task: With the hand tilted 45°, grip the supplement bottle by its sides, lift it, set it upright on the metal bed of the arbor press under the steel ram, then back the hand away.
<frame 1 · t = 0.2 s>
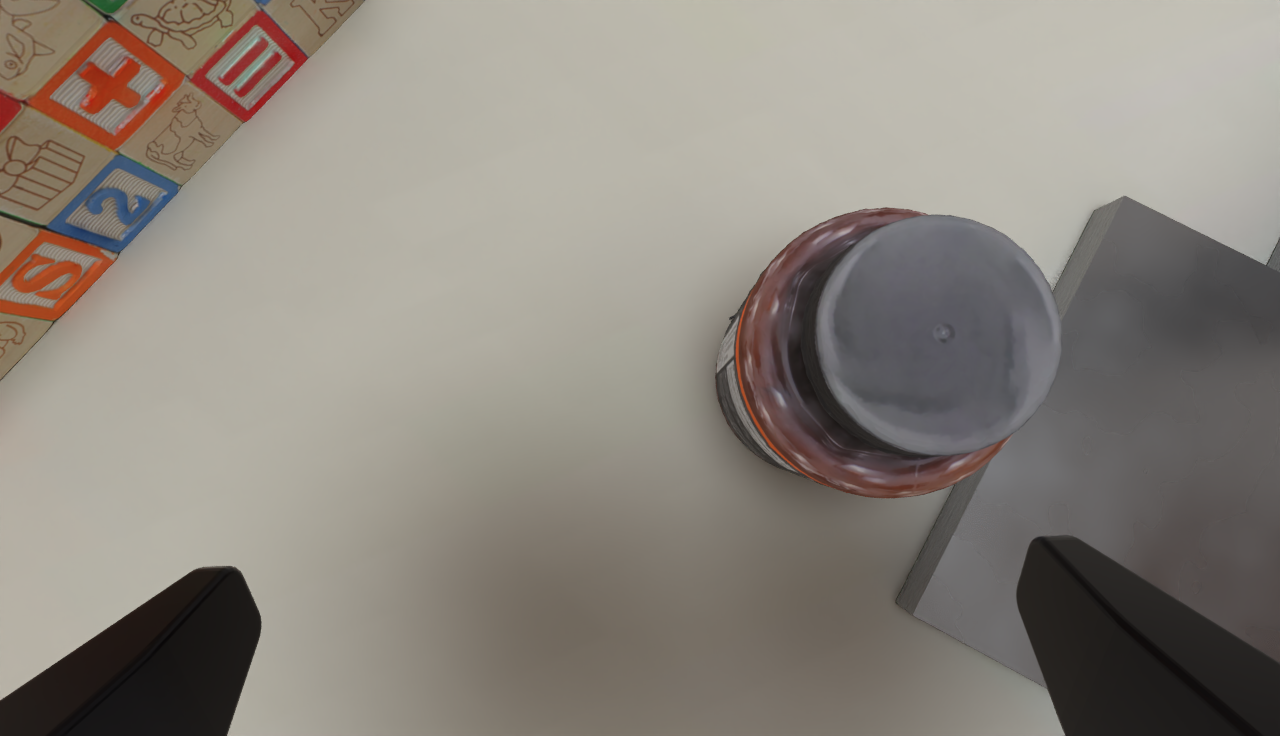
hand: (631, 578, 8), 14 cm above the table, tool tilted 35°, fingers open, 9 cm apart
arbor press: (1203, 510, 22), on the table
supplement bottle: (803, 378, 23), on the table
stack of blocks: (98, 166, 24), on the table
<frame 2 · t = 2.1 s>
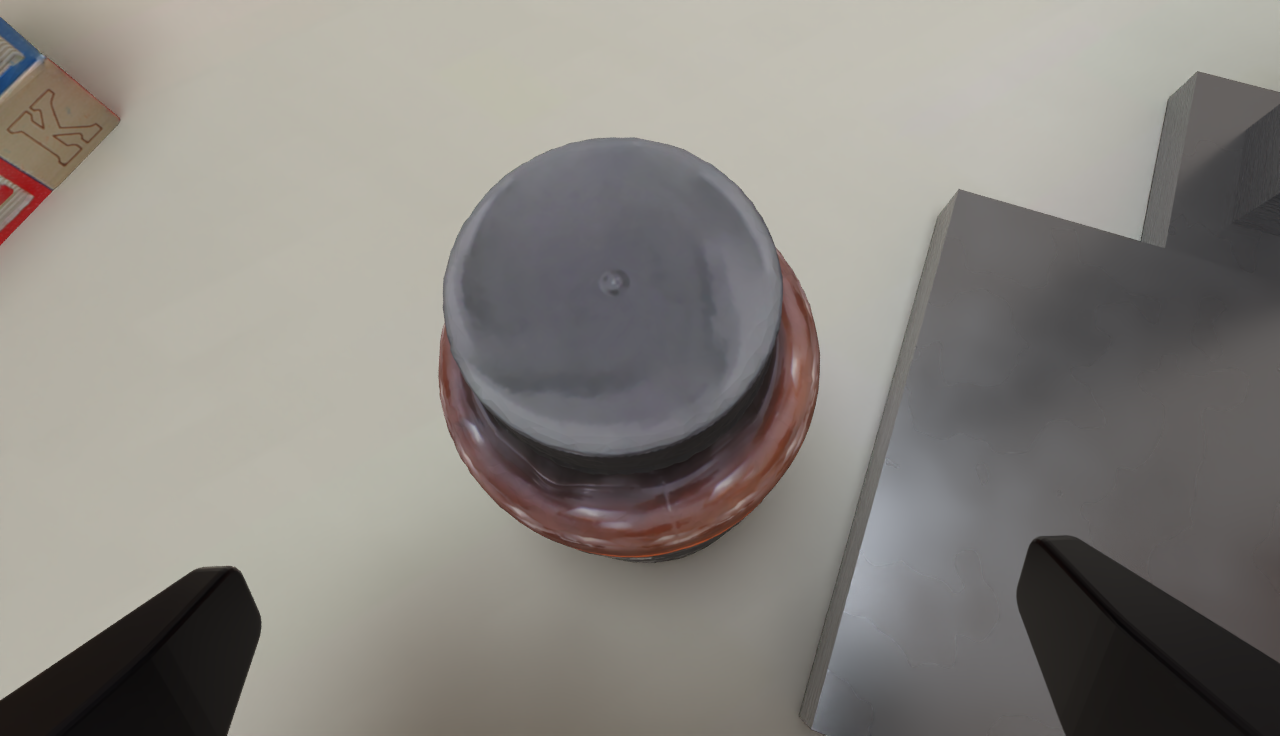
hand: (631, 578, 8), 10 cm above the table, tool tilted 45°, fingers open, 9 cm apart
arbor press: (1149, 535, 18), on the table
supplement bottle: (646, 449, 19), on the table
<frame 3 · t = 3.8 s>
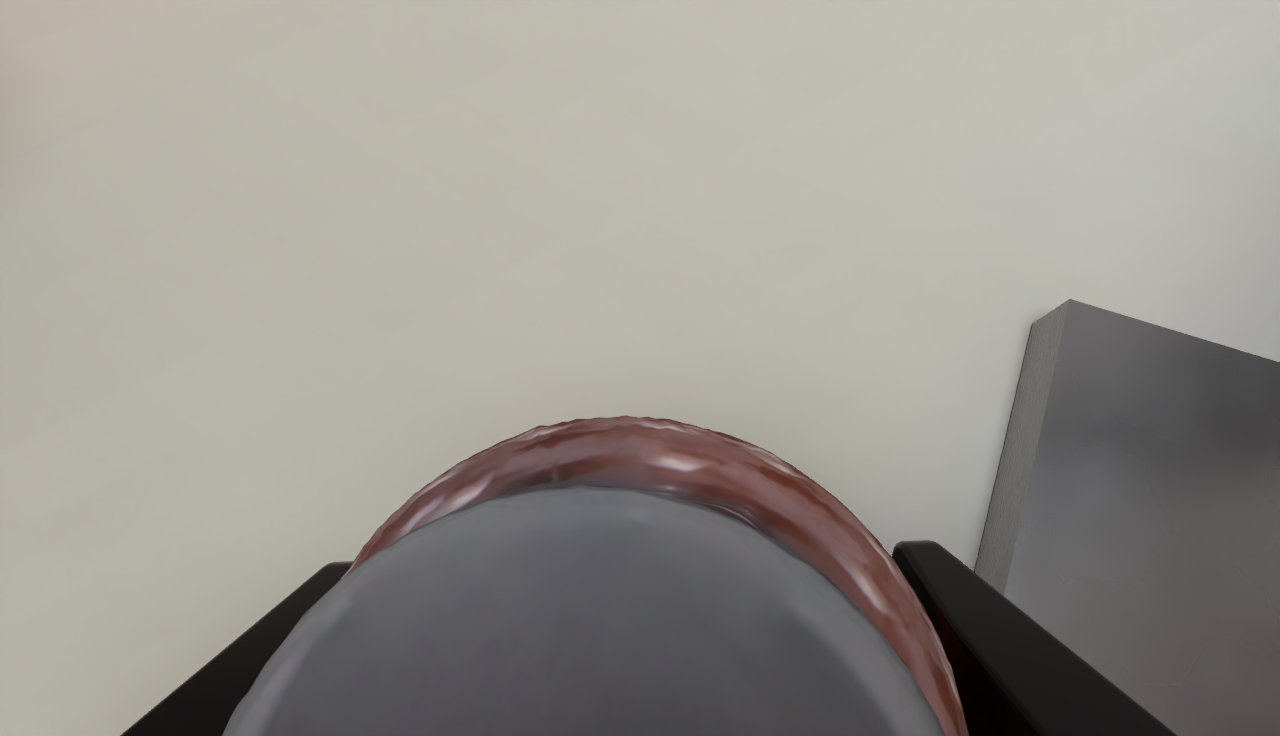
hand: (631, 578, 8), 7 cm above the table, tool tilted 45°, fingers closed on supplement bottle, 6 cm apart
supplement bottle: (650, 645, 14), on the table, touching gripper
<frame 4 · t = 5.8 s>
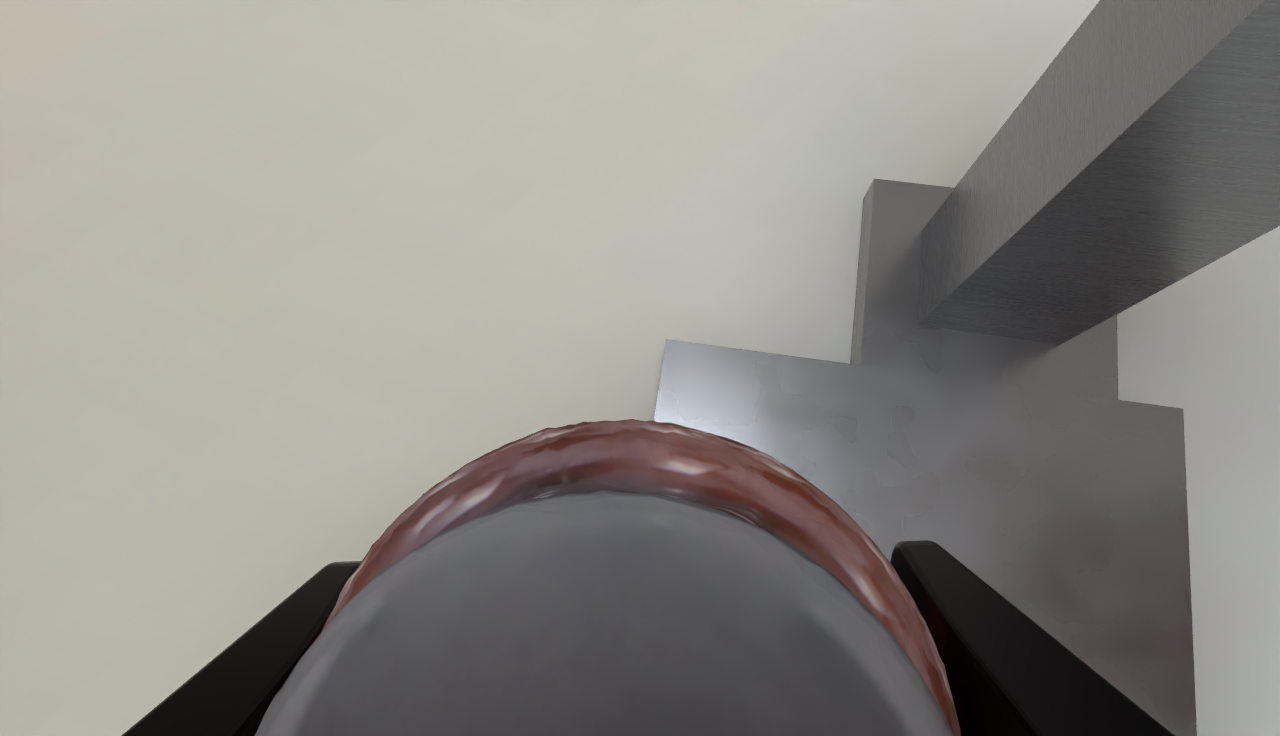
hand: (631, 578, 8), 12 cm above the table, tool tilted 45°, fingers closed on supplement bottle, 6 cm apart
arbor press: (885, 634, 19), on the table
supplement bottle: (639, 642, 14), point 5 cm above the table, touching gripper
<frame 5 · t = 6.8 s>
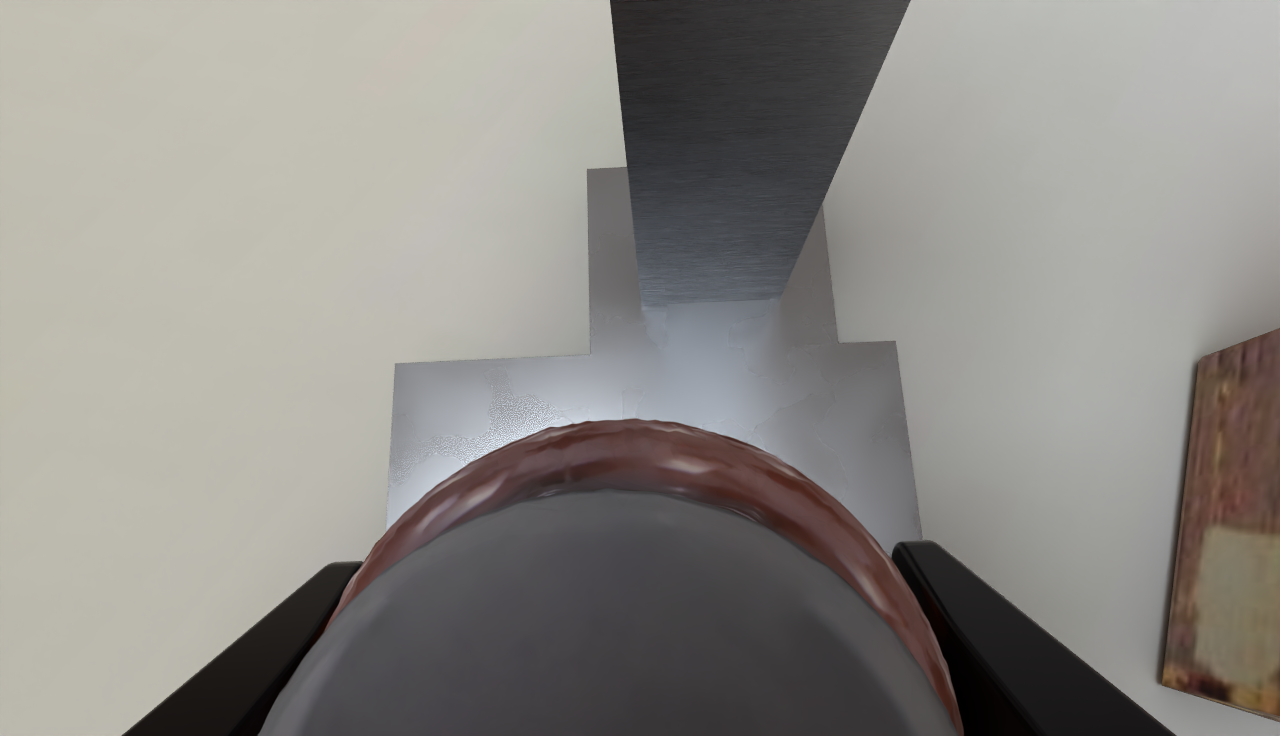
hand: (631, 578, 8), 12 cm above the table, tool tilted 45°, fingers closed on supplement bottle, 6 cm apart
arbor press: (654, 612, 19), on the table
supplement bottle: (641, 641, 15), point 5 cm above the table, touching gripper
when the fingers open (9 cm above the table, at t = 7.9 s): supplement bottle stays where it is, resting on arbor press.
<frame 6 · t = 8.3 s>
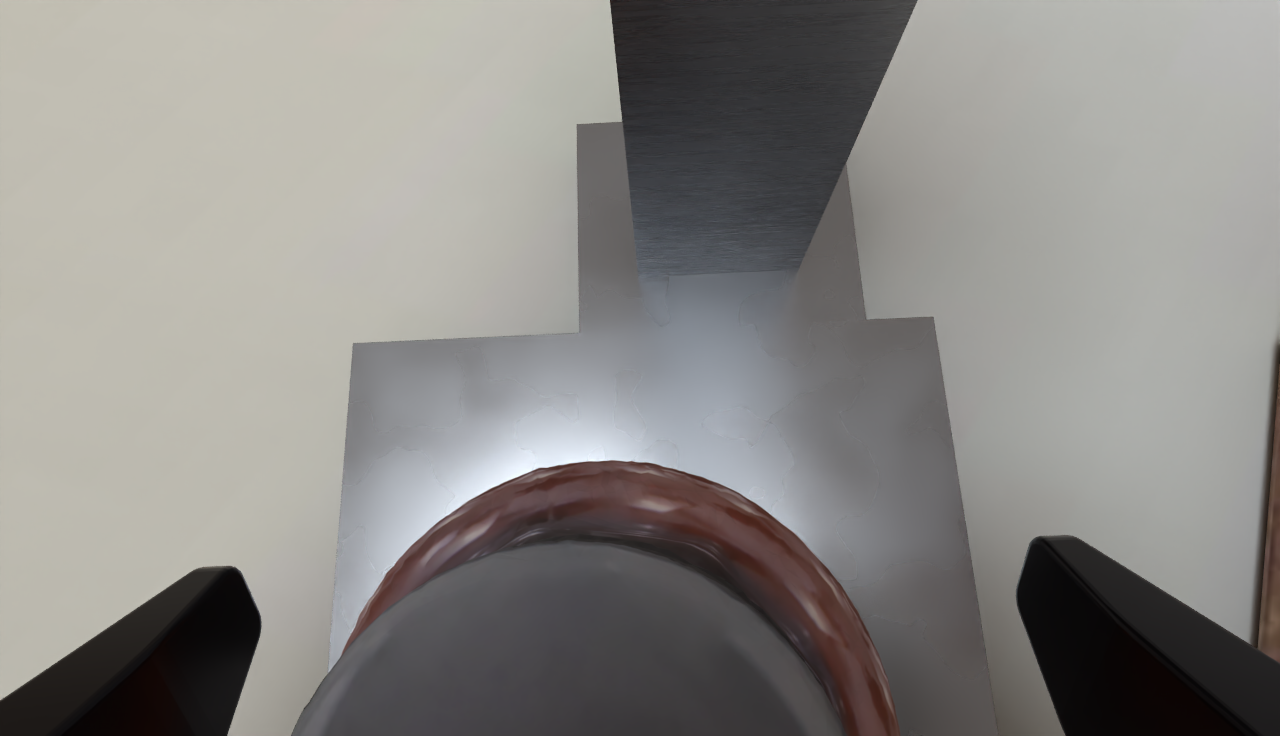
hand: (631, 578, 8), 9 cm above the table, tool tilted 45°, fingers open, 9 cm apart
arbor press: (652, 633, 17), on the table
supplement bottle: (642, 651, 15), point 1 cm above the table, touching arbor press
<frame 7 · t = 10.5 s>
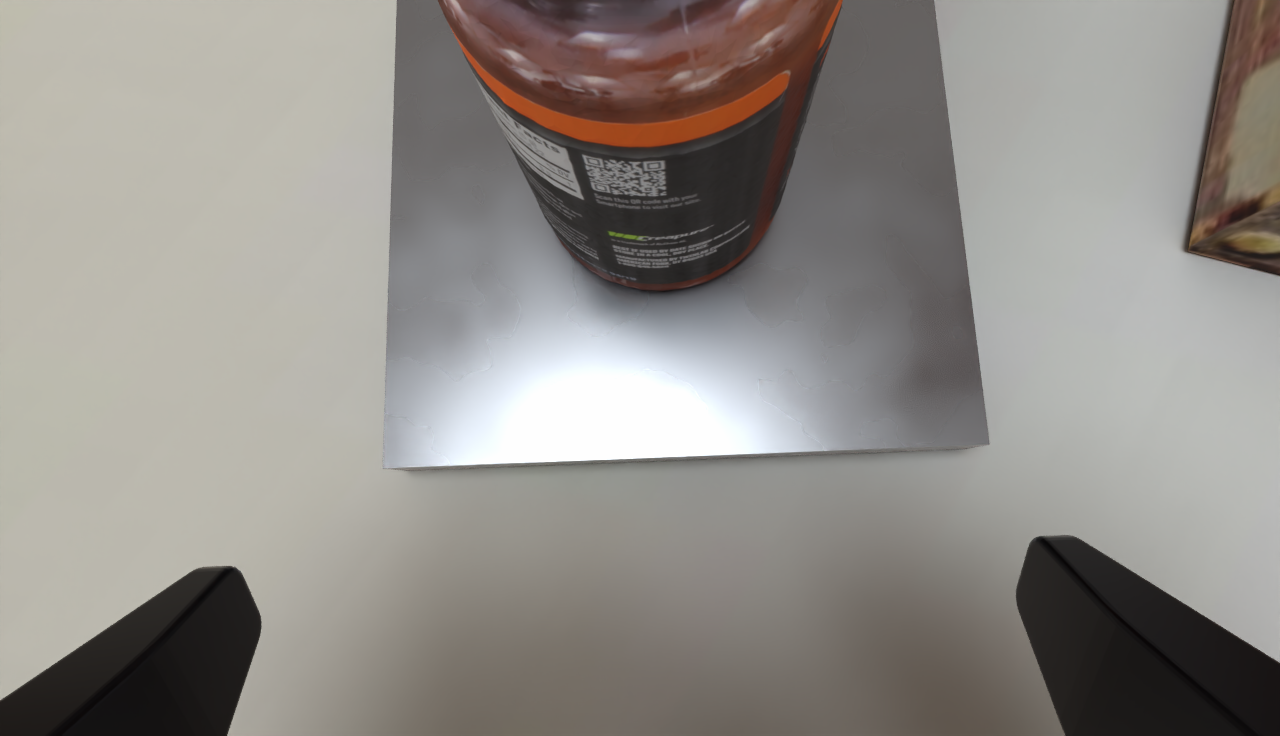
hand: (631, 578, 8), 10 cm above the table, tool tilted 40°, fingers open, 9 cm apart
arbor press: (668, 198, 19), on the table
supplement bottle: (659, 186, 18), point 1 cm above the table, touching arbor press
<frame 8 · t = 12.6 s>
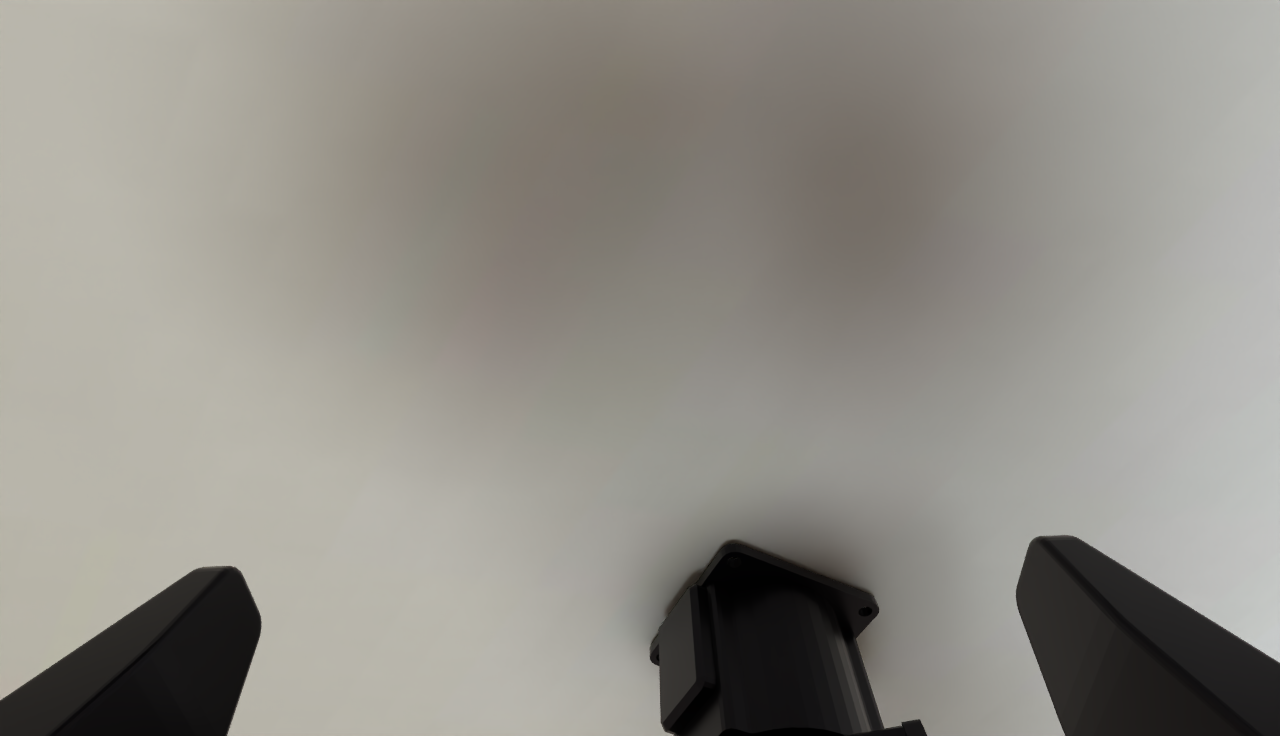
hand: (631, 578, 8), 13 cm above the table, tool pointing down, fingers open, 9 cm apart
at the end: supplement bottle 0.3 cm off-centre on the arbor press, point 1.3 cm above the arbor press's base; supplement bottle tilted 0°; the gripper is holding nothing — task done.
